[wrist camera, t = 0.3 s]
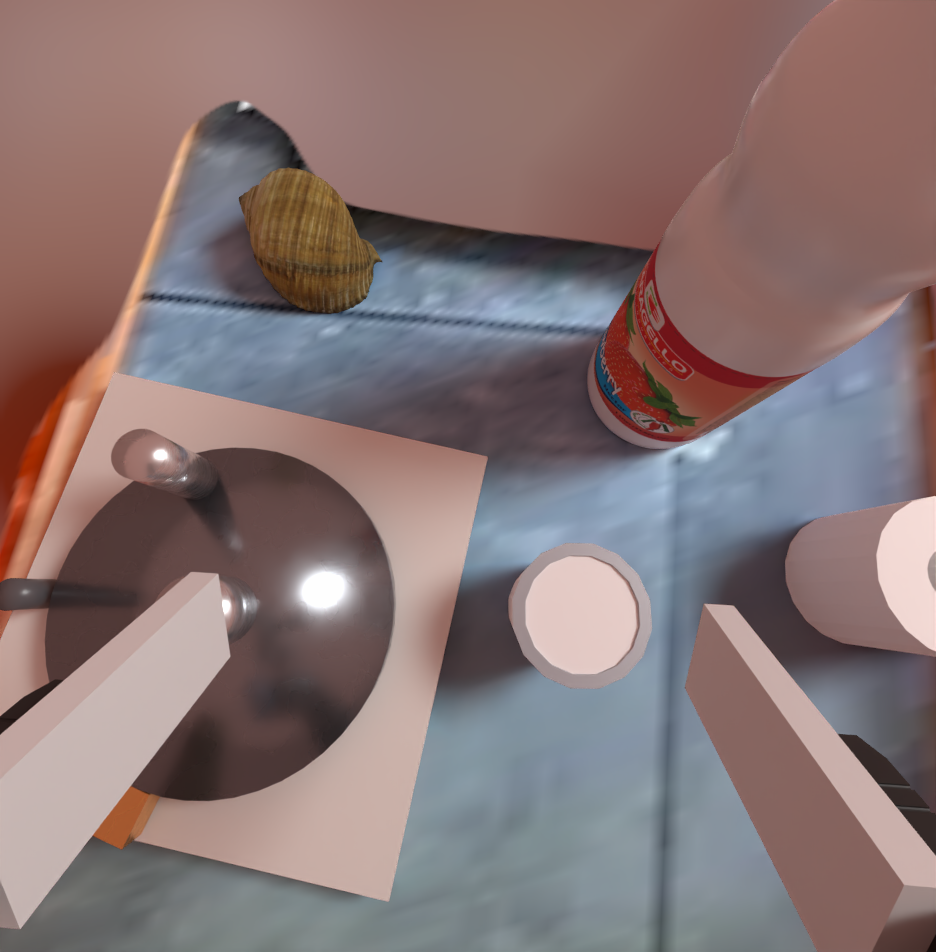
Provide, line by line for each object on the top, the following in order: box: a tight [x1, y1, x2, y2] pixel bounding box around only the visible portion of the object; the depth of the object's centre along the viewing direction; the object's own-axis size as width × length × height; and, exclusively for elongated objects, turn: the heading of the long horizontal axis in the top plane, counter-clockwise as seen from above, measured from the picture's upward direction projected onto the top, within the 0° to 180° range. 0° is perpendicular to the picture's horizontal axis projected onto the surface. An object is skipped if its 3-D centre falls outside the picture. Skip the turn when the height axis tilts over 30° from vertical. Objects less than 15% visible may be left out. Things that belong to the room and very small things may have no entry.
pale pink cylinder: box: [508, 543, 652, 689], centre depth 27 cm, size 7×7×7 cm
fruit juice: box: [587, 0, 936, 449], centre depth 20 cm, size 9×9×28 cm
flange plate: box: [45, 429, 396, 850], centre depth 24 cm, size 18×20×7 cm
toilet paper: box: [785, 496, 936, 657], centre depth 28 cm, size 8×11×7 cm
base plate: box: [0, 372, 488, 902], centre depth 27 cm, size 24×24×5 cm
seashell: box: [239, 168, 382, 314], centre depth 33 cm, size 10×7×8 cm
